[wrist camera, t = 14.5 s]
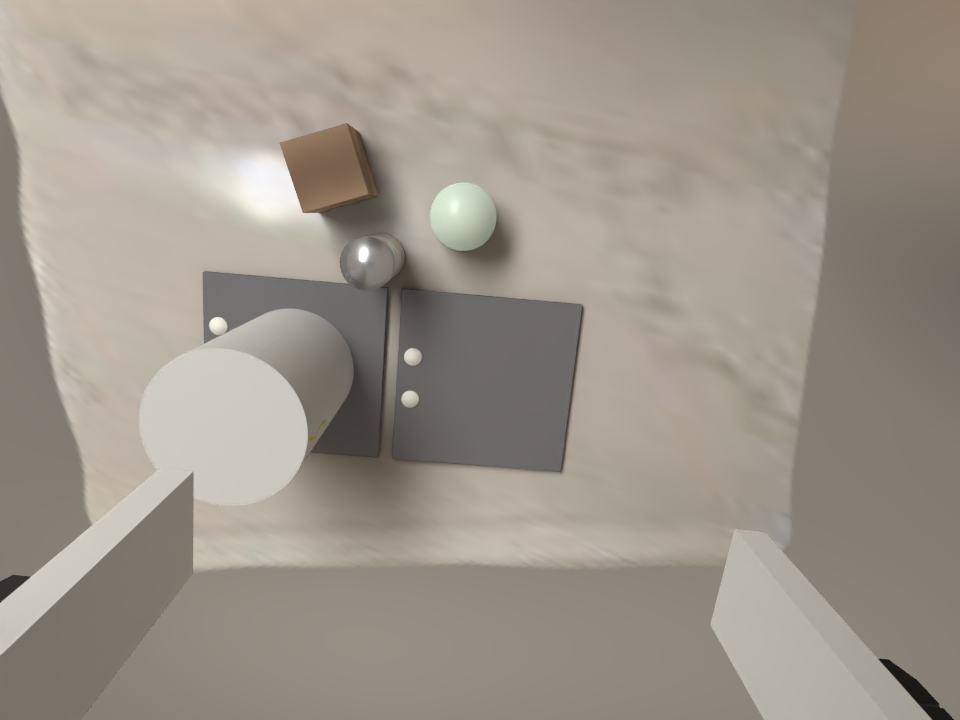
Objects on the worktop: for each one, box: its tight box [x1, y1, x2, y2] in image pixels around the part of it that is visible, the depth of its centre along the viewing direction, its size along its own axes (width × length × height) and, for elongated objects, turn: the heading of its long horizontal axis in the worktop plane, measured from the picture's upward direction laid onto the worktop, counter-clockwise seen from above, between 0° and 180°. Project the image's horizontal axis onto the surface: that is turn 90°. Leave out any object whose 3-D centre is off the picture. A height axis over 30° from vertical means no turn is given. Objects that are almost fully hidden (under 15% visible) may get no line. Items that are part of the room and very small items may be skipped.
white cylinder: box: [139, 309, 354, 506], centre depth 35 cm, size 8×8×12 cm
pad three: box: [203, 271, 388, 457], centre depth 41 cm, size 12×12×1 cm
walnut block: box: [280, 123, 378, 213], centre depth 37 cm, size 4×4×4 cm
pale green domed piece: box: [430, 183, 497, 251], centre depth 38 cm, size 4×4×3 cm
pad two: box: [392, 289, 582, 472], centre depth 42 cm, size 12×12×1 cm
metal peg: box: [340, 233, 405, 291], centre depth 37 cm, size 3×3×6 cm
